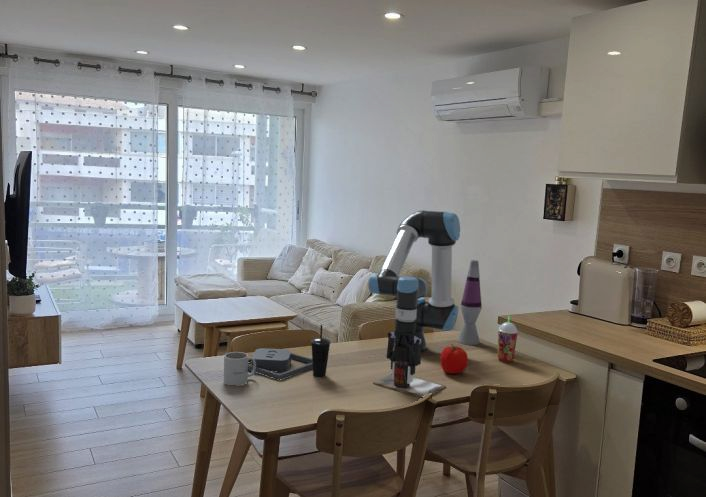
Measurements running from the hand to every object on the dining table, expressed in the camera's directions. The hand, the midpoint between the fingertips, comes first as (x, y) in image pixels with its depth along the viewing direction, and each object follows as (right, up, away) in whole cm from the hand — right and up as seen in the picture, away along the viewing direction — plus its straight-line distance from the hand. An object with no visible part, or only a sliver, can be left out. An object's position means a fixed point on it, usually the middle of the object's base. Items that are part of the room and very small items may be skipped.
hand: (402, 380), depth 214 cm
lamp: (+38, +3, +66) cm, 77 cm away
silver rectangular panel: (+3, -3, +3) cm, 5 cm away
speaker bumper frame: (-48, +2, +18) cm, 52 cm away
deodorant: (0, -2, 0) cm, 2 cm away
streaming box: (-51, +1, +17) cm, 54 cm away
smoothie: (+49, -1, +39) cm, 62 cm away
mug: (-60, 0, -1) cm, 60 cm away
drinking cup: (-31, 0, +9) cm, 33 cm away
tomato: (+22, -2, +20) cm, 30 cm away
